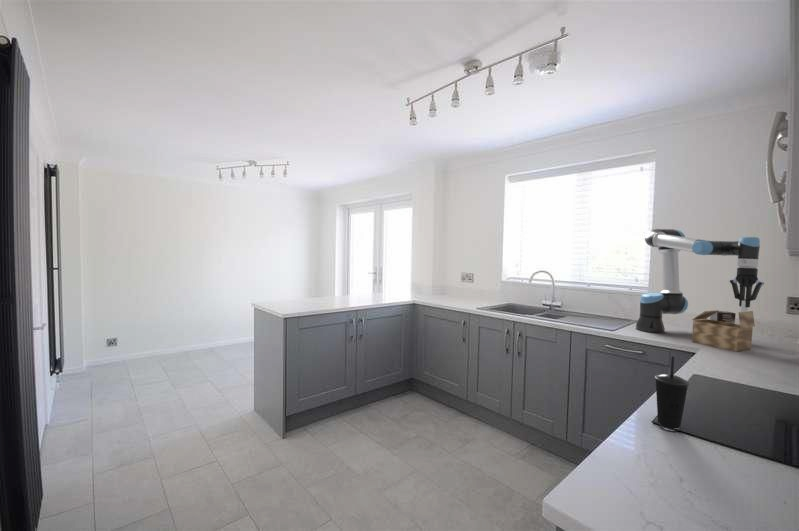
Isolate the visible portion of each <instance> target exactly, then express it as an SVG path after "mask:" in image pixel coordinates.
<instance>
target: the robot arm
mask: <svg viewBox="0 0 799 531" xmlns="http://www.w3.org/2000/svg"><path fill="white" fill-rule="evenodd" d="M644 241H645V243H646V245H647V246H649V247H652V248H657V249H658V252H659V253H660V254H661V256H660V257H661V281H662V284H661V285H662V290H661V291H660V292H658V293H657V292H647V293H643V294H641V296H640V300H639V302H640V303H639V317H638V320H637V321H636V324H635V329H636V330H637V329H638V331H641V330H642V332H646V331H648V333H654V332H658V333H657V334H660V333H661V334H663V333H662V332H664V333H665V331H666V328H665V325H664V322H663V315H678V314H679V315H681V314H683V313H685V312H686V311H687V310H688V306H689V302H688V299H687V298H686V297H685V296H684V295H683V292H682V291H681V290H680V270H679V268H680V267H679V266H680V265H679V253H680V251H684V252H689V253H690V252H691V253H694V254H695V255H698V256H699V255H701V256H724V257H725V256H737V264H736V265H737V268H736V275H735V276H736V277H735V278H733V279H730V280H729V283H730V284H731V287H732V291H733V295H734V299H737V300H738V301H739V304H738V305H739V307H740V312H747V311H748V308H750V307H751V302H752V301H756V300H757V297H758V295H759V292H760V291H761V289H762V288H761V287H763V285H764V284H765V283H764V282H763V281H761V280H759V278H758V272H759V271H758V267H759V255H760V247H761V245H760V244H761V243H760V242H761V241H760V238H759V237H756V236H745V237H743V236H741V237H740V238H739V239H738V240H736V241H732V240H731V241H729V240H727V241H726V240H725V241H723V240H707V239H706V240H705V239H699V238H692V237H686V236H685V234H684V233H683V232H682V231H681V230H679V229H671V228H670V229H669V228H668V229H666V228H661V229H660V228H655V229H654V228H653V229H651V230H649V231H648V232H647V233H646V234H645V236H644ZM738 284H739V285H738ZM754 285H755V286H754ZM753 286H754V288H753ZM752 290H753V291H752Z"/></svg>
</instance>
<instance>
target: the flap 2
mask: <svg viewBox="0 0 799 531" xmlns="http://www.w3.org/2000/svg"><path fill="white" fill-rule="evenodd" d="M737 314H738V320H739V325H740V328H748V327H753V328H755V326H756V325H755V319H754V318H755V317H754V311H753V310H751V311H748V310H747V312H741V311H740V312H738V313H737Z"/></svg>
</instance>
